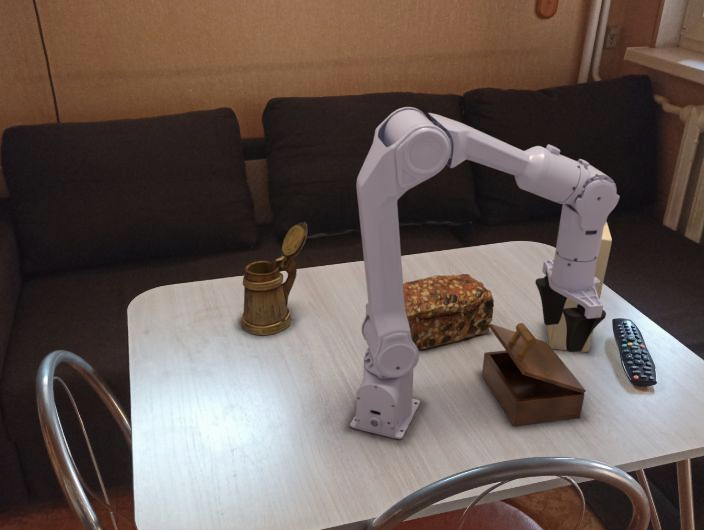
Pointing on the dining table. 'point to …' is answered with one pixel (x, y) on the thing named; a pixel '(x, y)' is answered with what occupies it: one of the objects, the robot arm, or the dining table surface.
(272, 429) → the dining table surface
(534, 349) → the box lid
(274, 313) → the wooden mug
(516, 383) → the trinket box
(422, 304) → the bread
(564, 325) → the beige tall block
